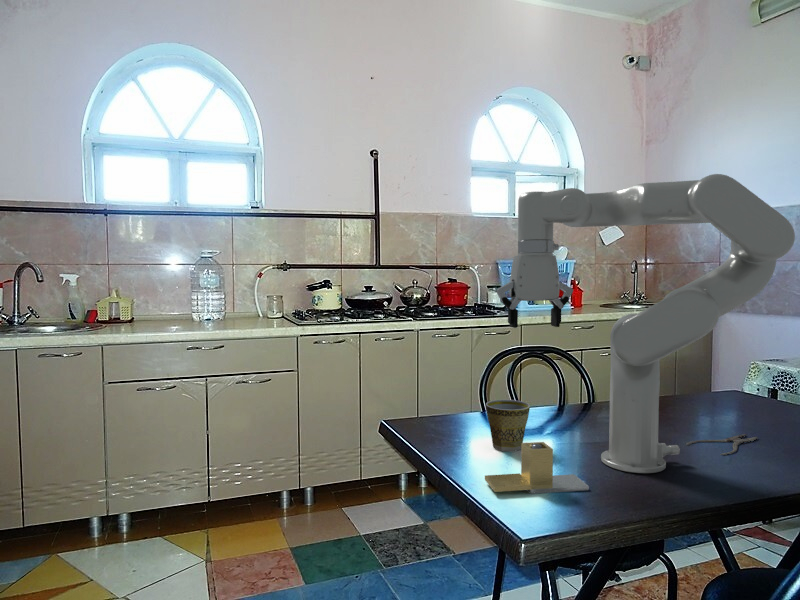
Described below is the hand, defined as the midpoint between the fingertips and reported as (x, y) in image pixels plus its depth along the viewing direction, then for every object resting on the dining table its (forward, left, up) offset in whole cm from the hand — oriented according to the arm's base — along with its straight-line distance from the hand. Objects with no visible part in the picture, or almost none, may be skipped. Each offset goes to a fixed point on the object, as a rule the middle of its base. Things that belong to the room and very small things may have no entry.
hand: (534, 326), depth 124 cm
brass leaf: (+10, +19, -28) cm, 35 cm away
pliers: (-47, 0, -29) cm, 55 cm away
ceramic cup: (+4, -6, -28) cm, 29 cm away
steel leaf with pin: (+4, +19, -28) cm, 34 cm away
